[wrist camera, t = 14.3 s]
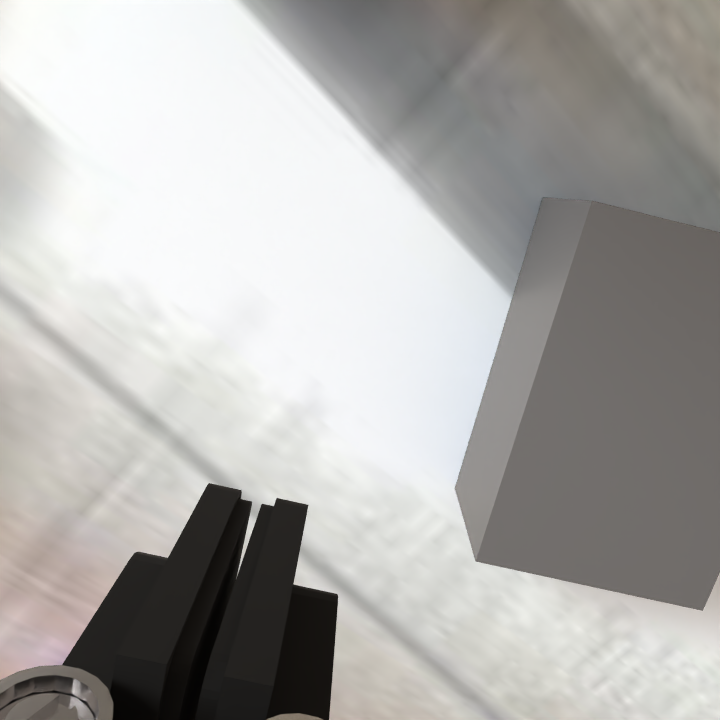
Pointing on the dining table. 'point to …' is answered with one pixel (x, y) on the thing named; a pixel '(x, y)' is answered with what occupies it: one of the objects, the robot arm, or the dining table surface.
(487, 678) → the dining table surface
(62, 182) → the dining table surface
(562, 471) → the block
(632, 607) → the dining table surface
